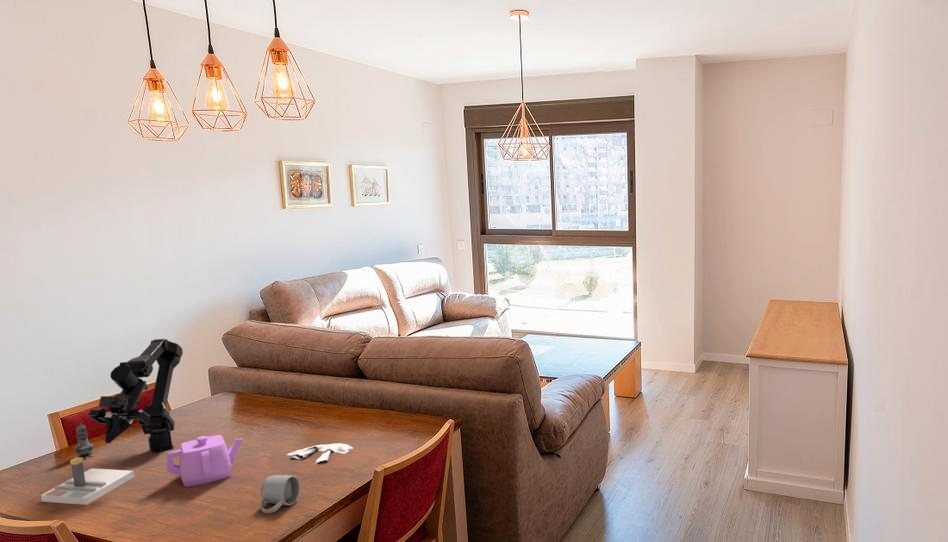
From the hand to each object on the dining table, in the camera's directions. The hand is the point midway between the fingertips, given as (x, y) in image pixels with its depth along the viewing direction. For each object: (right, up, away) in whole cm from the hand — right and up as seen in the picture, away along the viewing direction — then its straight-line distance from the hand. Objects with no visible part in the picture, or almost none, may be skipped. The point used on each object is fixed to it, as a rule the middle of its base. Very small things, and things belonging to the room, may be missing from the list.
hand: (107, 442), depth 196 cm
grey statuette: (-22, -12, +25) cm, 35 cm away
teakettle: (+29, -11, +4) cm, 31 cm away
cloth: (+60, -8, +13) cm, 62 cm away
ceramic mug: (+58, -12, -19) cm, 62 cm away
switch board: (-5, -14, -1) cm, 14 cm away
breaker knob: (-5, -12, -4) cm, 14 cm away
